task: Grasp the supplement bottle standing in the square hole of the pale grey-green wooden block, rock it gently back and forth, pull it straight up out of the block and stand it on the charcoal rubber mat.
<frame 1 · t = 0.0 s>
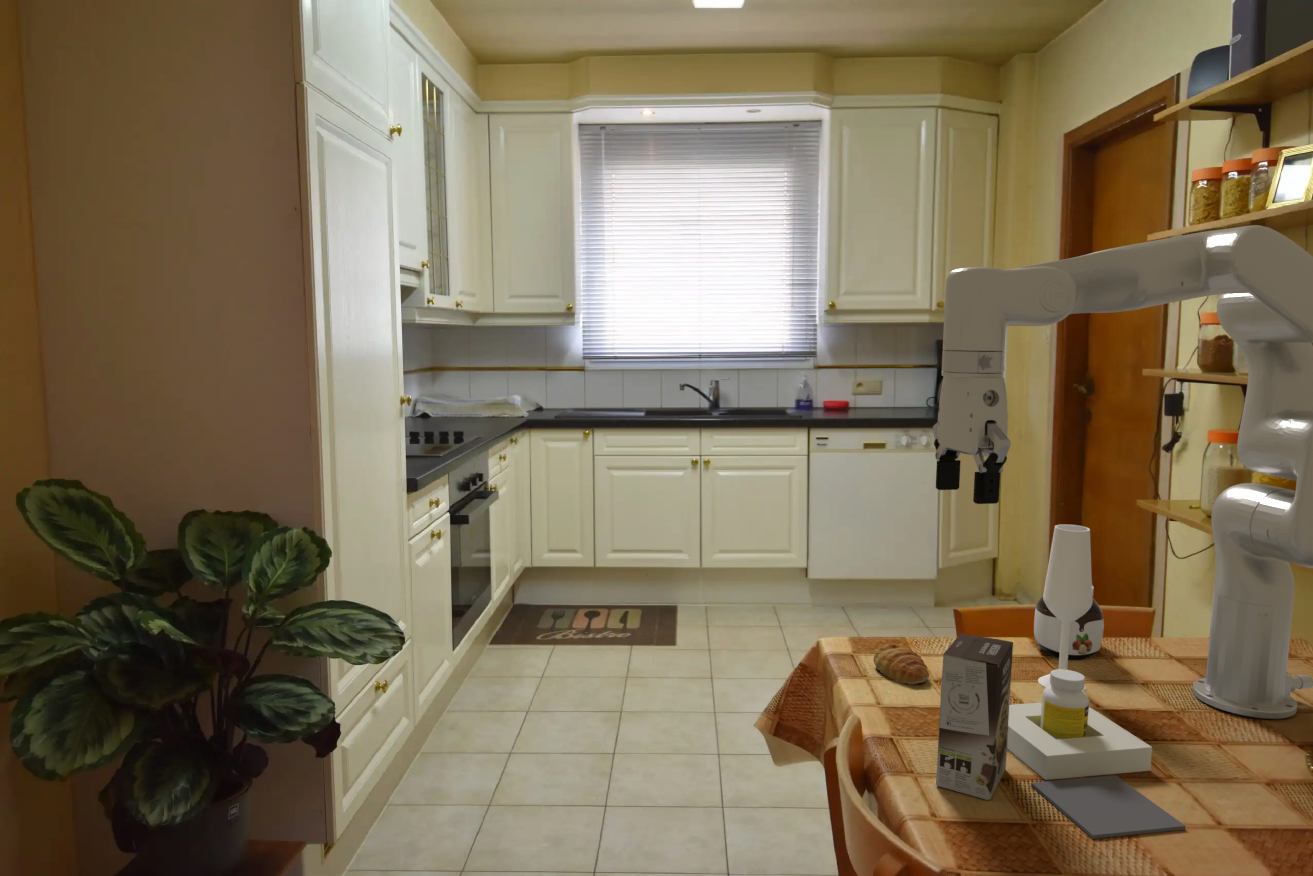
hand: (965, 496, 117), 31 cm above the table, tool pointing down, fingers open, 9 cm apart
socket block: (1062, 748, 113), on the table
champagne flute: (1061, 685, 134), on the table
mat: (1104, 806, 100), on the table
coffee box: (971, 779, 106), on the table
pastry: (901, 675, 138), on the table
spread jar: (1069, 650, 149), on the table
supplement bottle: (1062, 750, 113), resting in socket block
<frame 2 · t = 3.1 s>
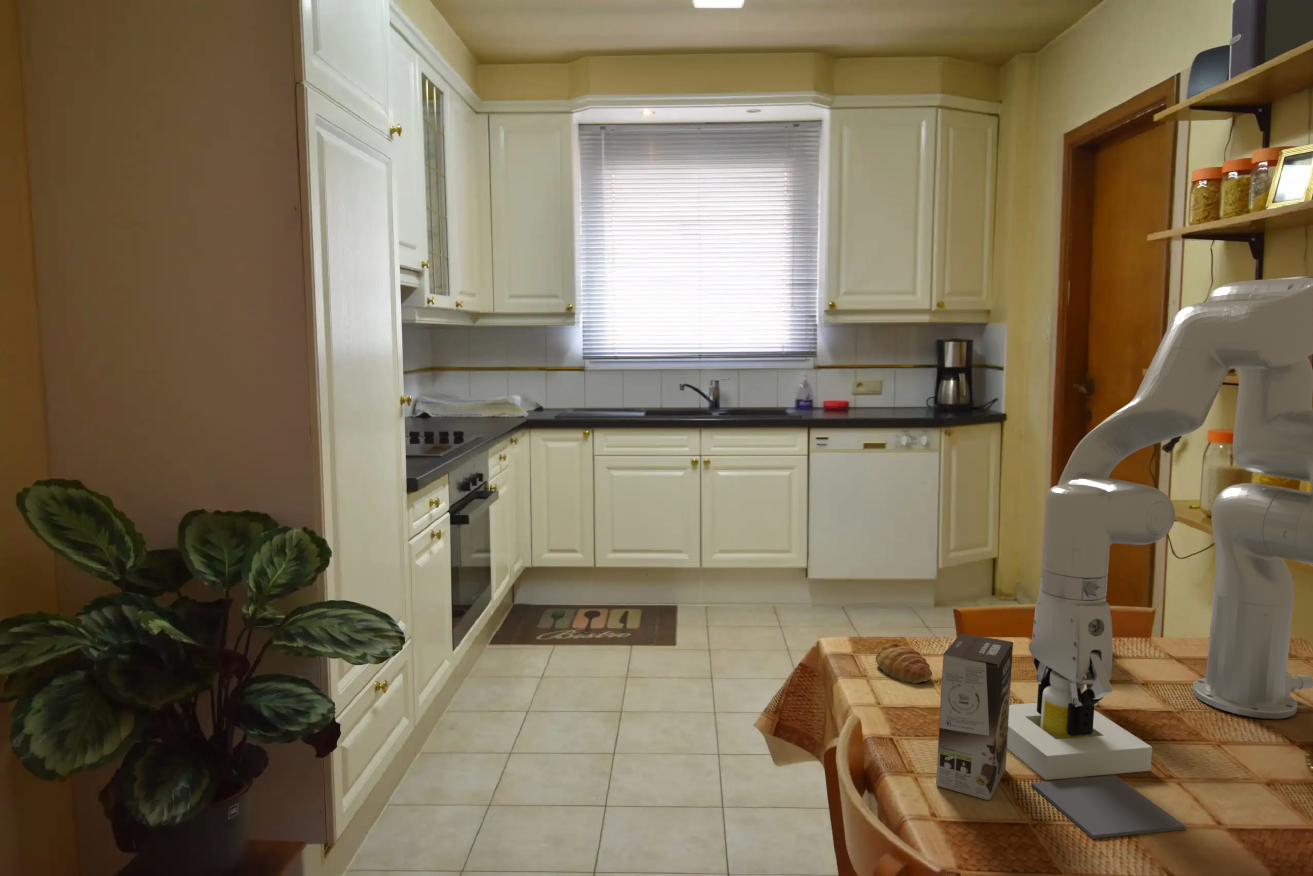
hand: (1063, 722, 113), 4 cm above the table, tool pointing down, fingers closed on supplement bottle, 5 cm apart
supplement bottle: (1062, 750, 113), resting in socket block, touching gripper
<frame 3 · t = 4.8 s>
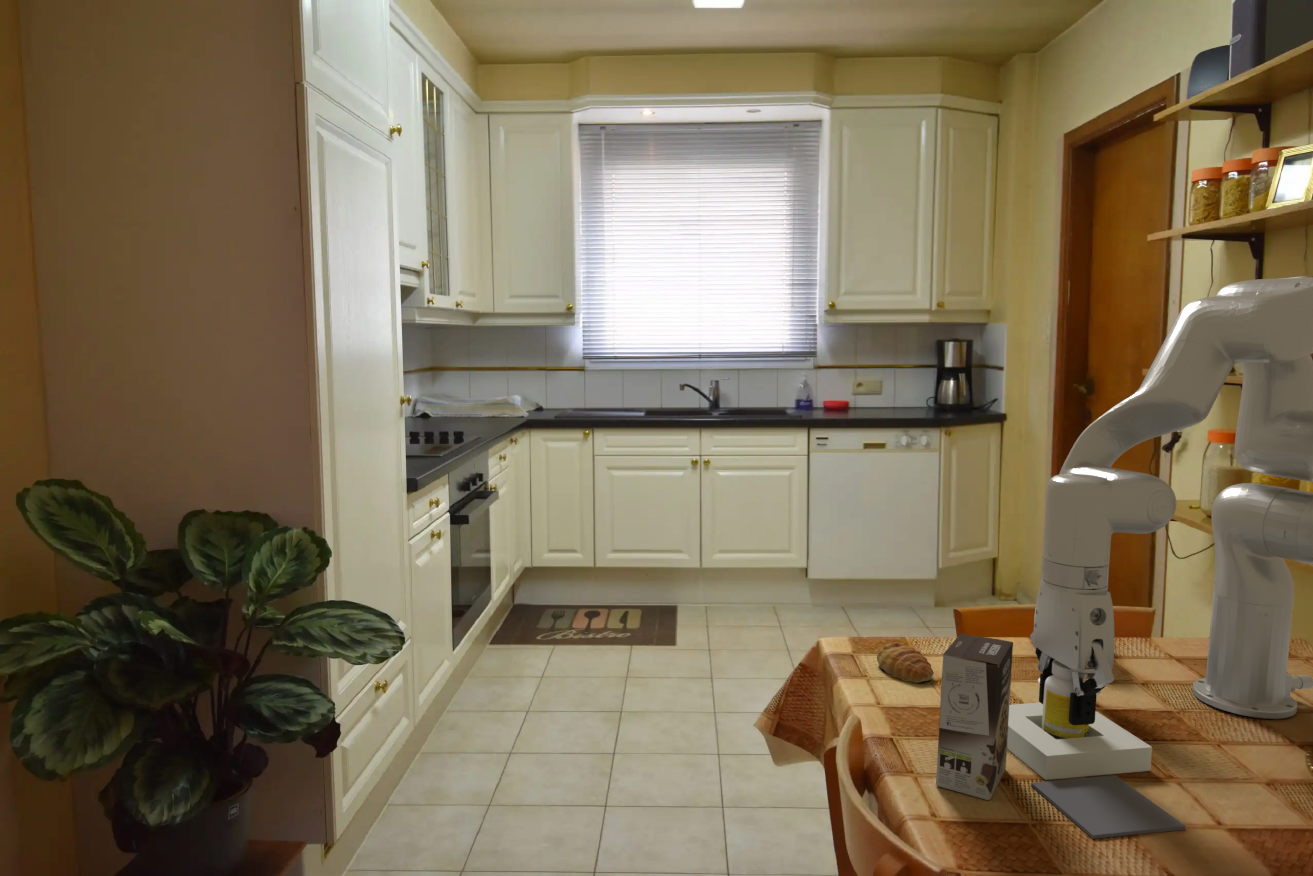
hand: (1066, 711, 113), 5 cm above the table, tool pointing down, fingers closed on supplement bottle, 5 cm apart
supplement bottle: (1064, 739, 113), point 1 cm above the table, touching gripper
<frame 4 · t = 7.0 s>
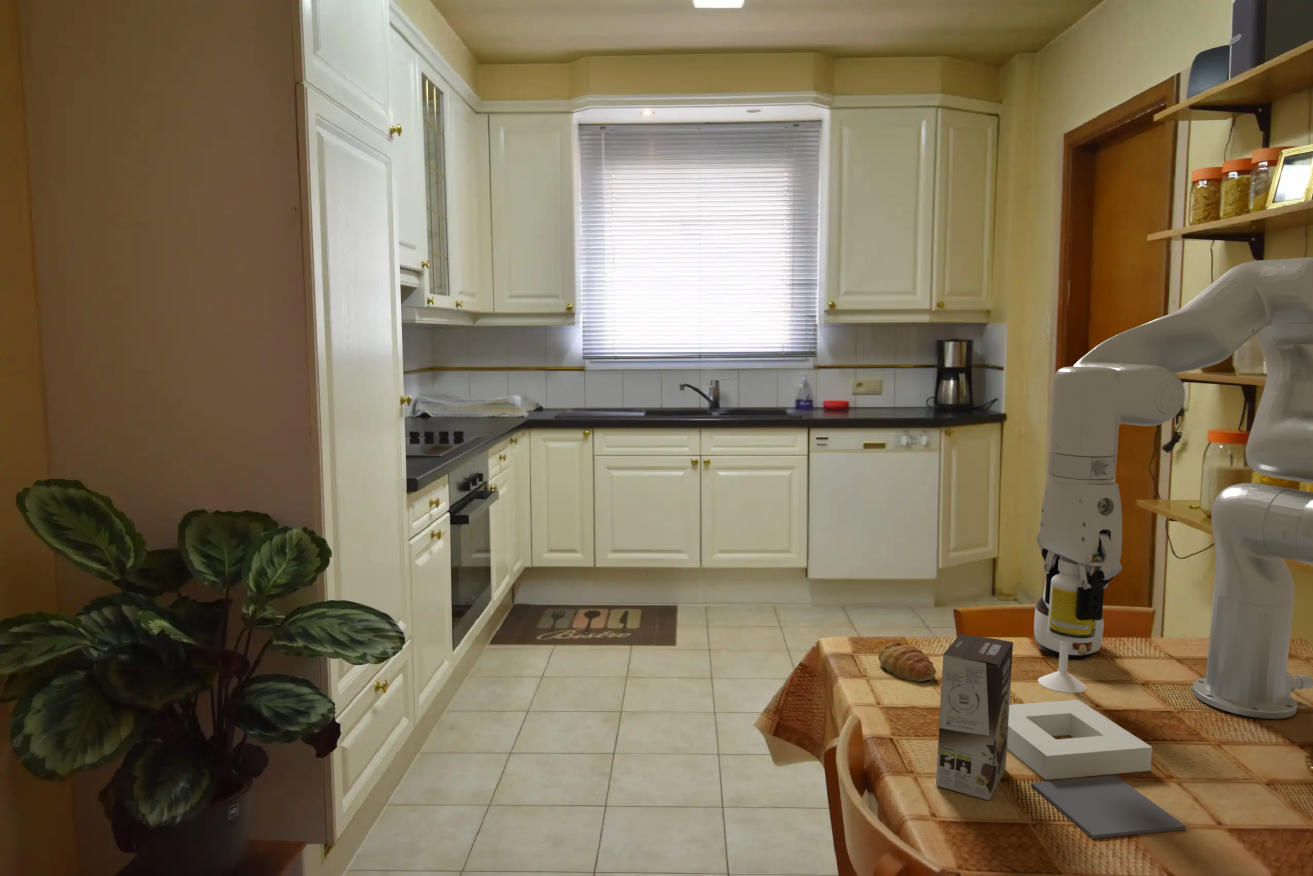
hand: (1072, 609, 111), 18 cm above the table, tool pointing down, fingers closed on supplement bottle, 5 cm apart
supplement bottle: (1070, 638, 112), point 15 cm above the table, touching gripper
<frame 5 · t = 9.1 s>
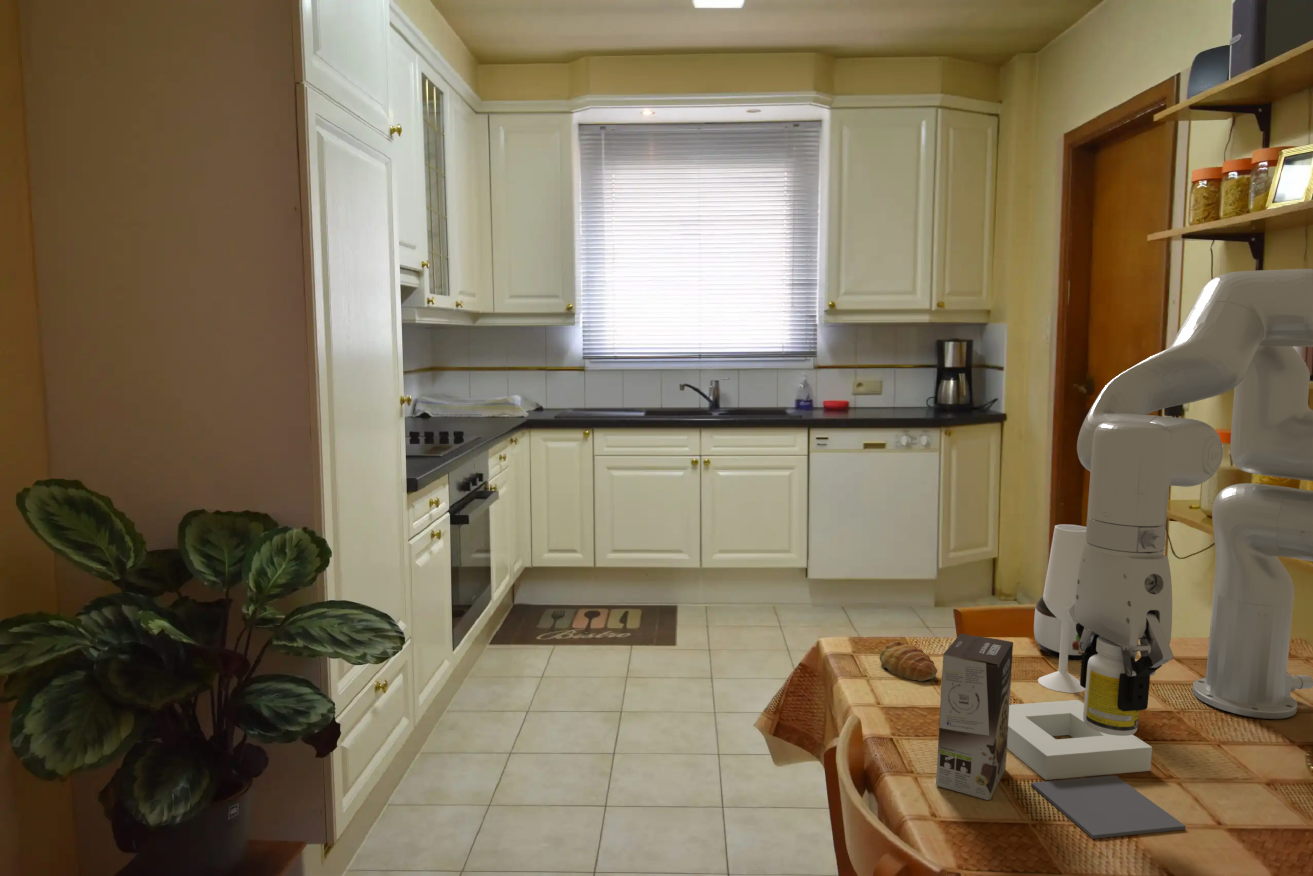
hand: (1112, 696, 98), 13 cm above the table, tool pointing down, fingers closed on supplement bottle, 5 cm apart
supplement bottle: (1109, 728, 98), point 9 cm above the table, touching gripper
when the fingers open (5 cm above the table, at t = 10.8 s): supplement bottle drops 1 cm, resting on mat.
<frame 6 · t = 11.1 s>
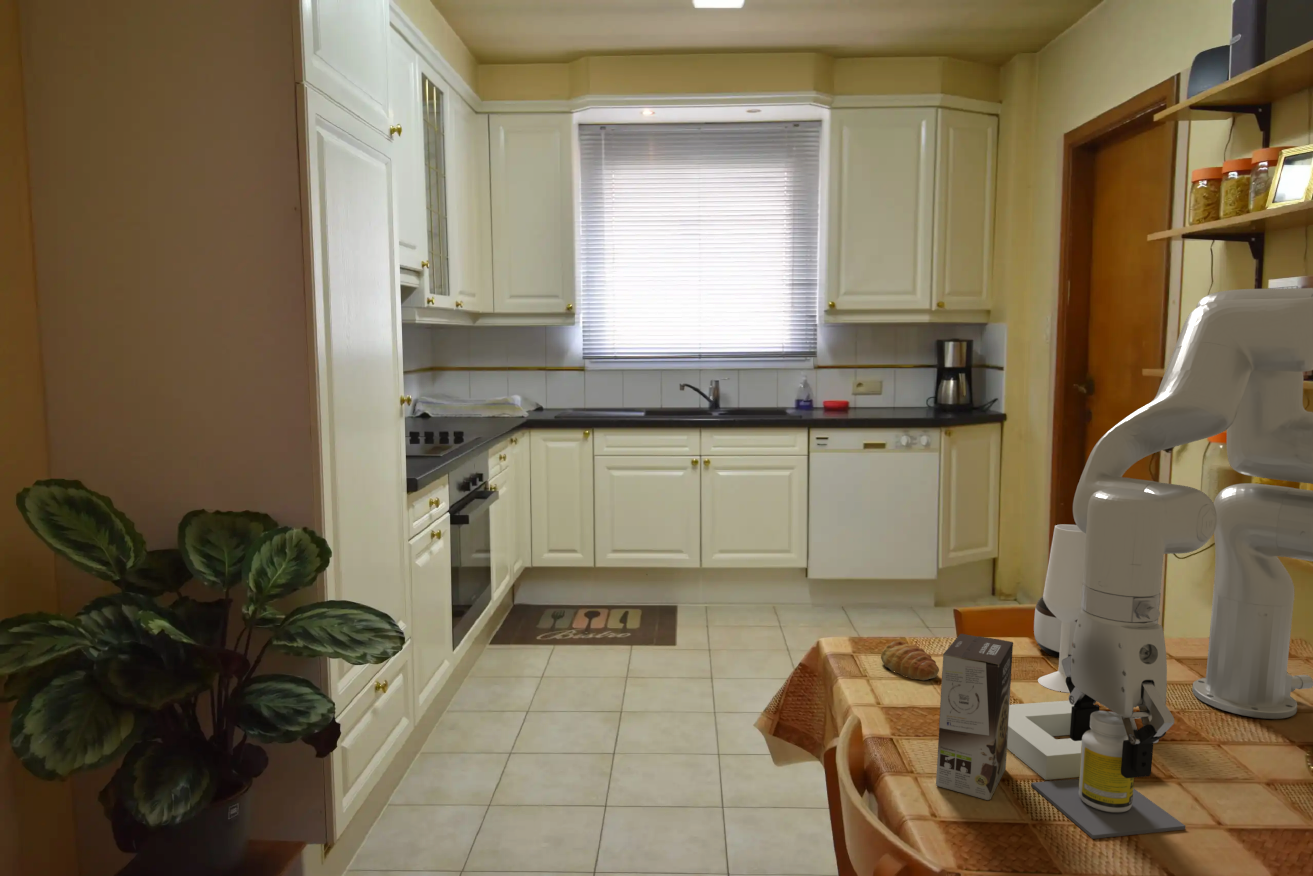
hand: (1108, 756, 99), 6 cm above the table, tool pointing down, fingers open, 8 cm apart
supplement bottle: (1104, 803, 100), resting on mat
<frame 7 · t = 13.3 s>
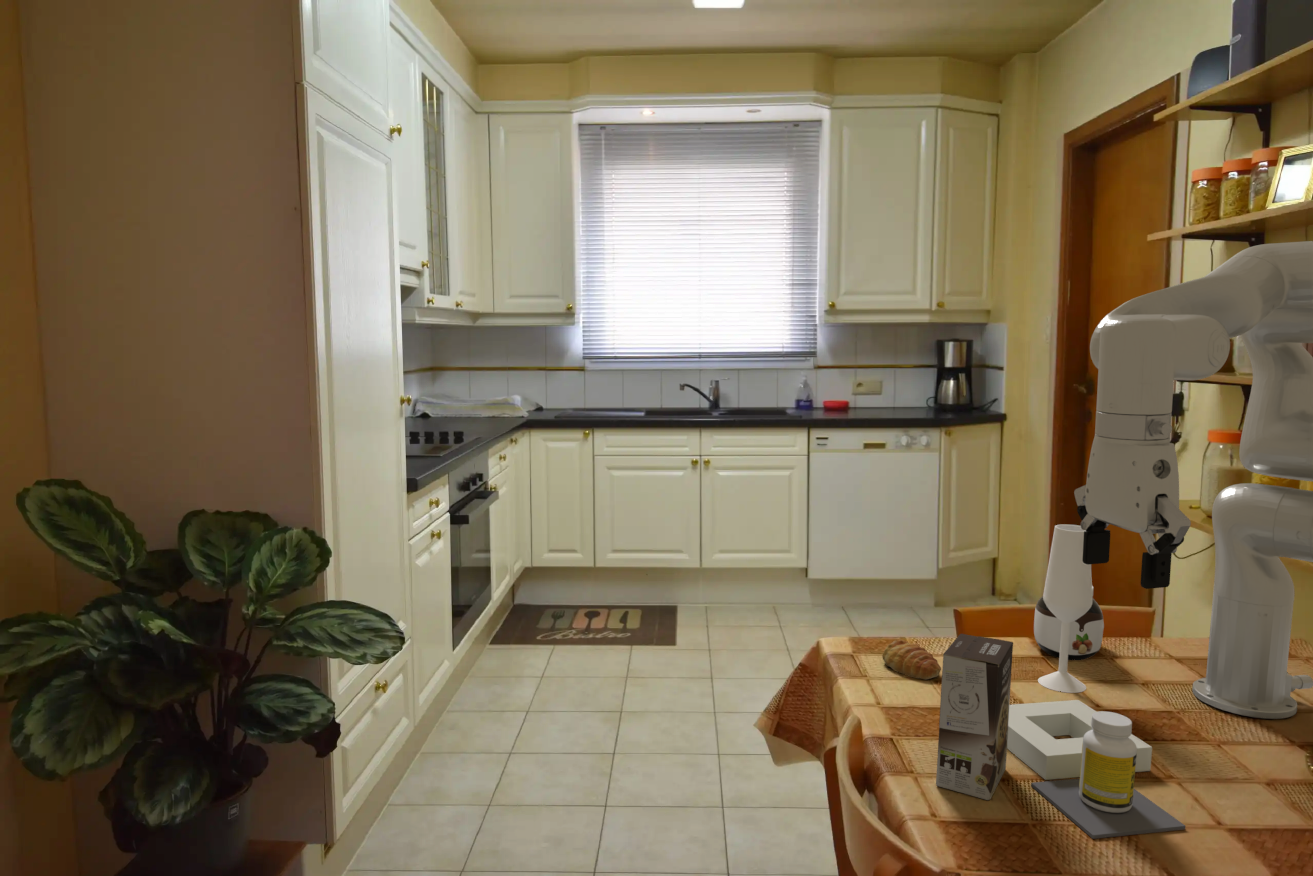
hand: (1123, 574, 103), 25 cm above the table, tool pointing down, fingers open, 9 cm apart
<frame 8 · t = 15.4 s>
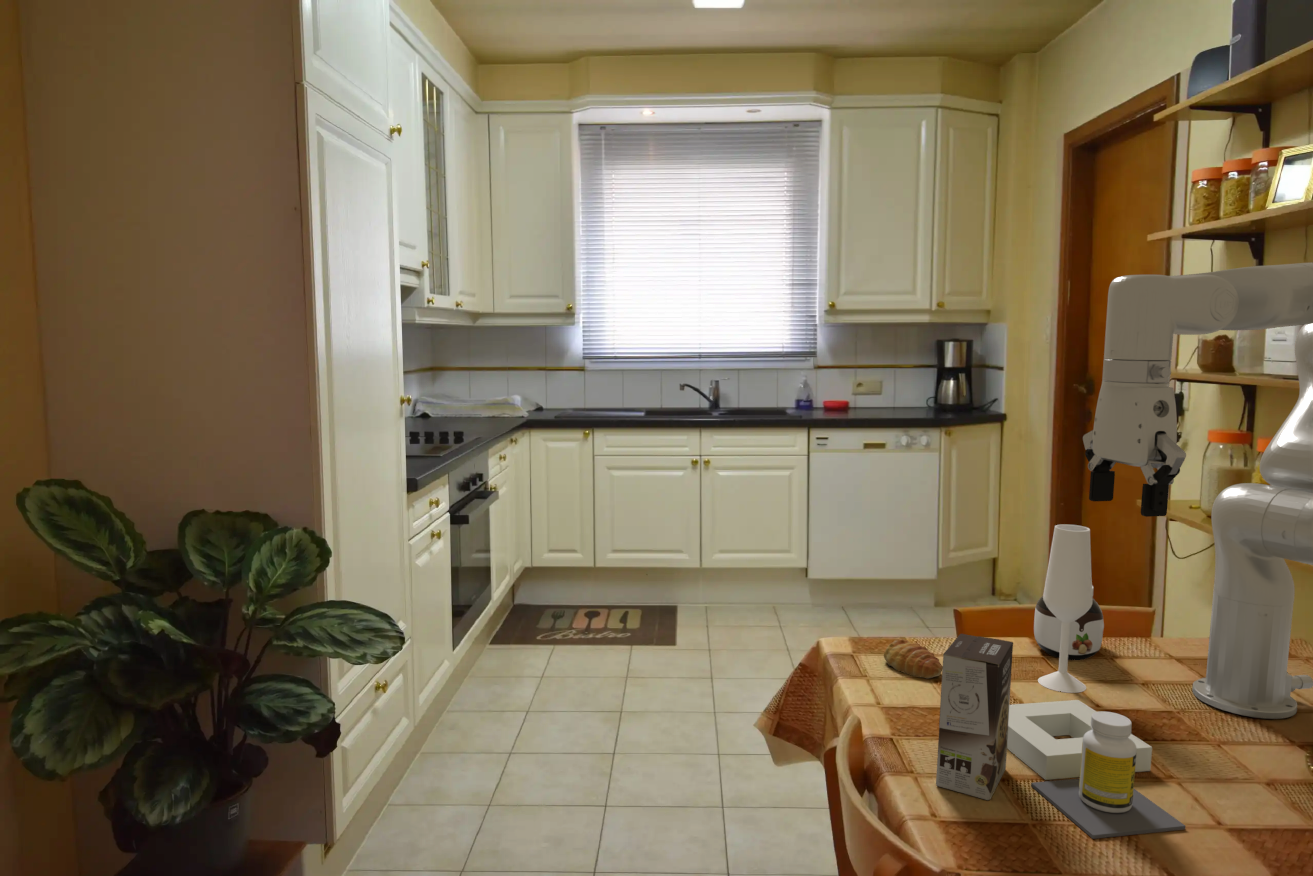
hand: (1126, 508, 114), 30 cm above the table, tool pointing down, fingers open, 9 cm apart
at the end: supplement bottle inside the target area on the mat (0.3 cm from its centre), point 0.2 cm above the mat's base; supplement bottle tilted 0°; the gripper is holding nothing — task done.
